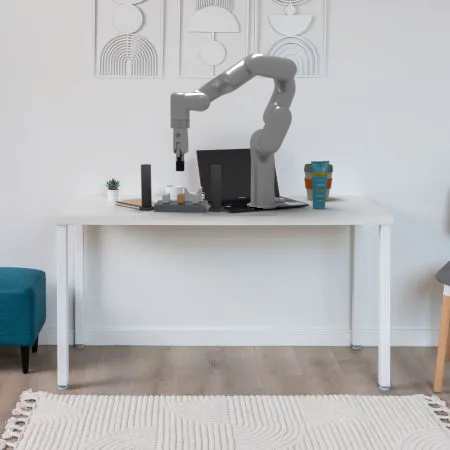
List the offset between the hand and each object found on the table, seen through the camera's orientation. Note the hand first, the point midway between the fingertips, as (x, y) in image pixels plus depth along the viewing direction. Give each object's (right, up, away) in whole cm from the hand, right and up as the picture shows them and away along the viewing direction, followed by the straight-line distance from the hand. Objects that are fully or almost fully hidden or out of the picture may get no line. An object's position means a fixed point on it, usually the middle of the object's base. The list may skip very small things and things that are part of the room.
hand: (180, 170), depth 305 cm
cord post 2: (+14, -16, +2) cm, 21 cm away
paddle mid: (0, -12, +2) cm, 13 cm away
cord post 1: (-14, -15, +4) cm, 21 cm away
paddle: (+6, -12, +2) cm, 14 cm away
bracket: (+5, -12, +22) cm, 25 cm away
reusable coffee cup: (+58, -11, +29) cm, 66 cm away
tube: (+56, -15, +7) cm, 58 cm away
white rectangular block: (-6, -12, +3) cm, 14 cm away
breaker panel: (0, -15, +3) cm, 16 cm away
